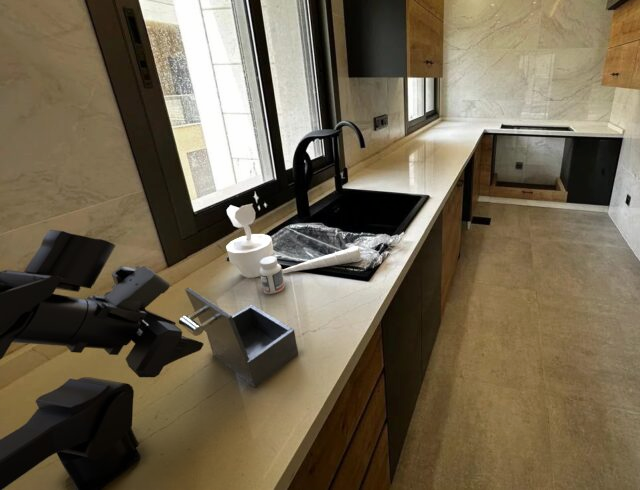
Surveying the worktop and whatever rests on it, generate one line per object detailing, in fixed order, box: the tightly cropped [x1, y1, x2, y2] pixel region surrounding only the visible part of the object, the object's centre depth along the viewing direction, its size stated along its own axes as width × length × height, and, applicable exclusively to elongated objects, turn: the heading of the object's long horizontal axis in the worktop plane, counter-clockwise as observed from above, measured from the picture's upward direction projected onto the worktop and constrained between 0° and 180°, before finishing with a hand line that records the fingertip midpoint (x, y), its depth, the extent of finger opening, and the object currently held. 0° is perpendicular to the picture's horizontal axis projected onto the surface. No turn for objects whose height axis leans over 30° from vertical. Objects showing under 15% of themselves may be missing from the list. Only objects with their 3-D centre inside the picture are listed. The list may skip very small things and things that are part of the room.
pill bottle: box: [259, 255, 285, 295], centre depth 87 cm, size 5×5×9 cm
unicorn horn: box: [282, 245, 362, 273], centre depth 98 cm, size 5×24×5 cm, turn 106°
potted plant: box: [226, 192, 275, 279], centre depth 91 cm, size 13×12×25 cm
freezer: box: [205, 304, 299, 389], centre depth 66 cm, size 10×15×6 cm, turn 58°
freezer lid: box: [178, 287, 249, 362], centre depth 57 cm, size 10×15×4 cm
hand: (187, 335), depth 55 cm, fingers open, 9 cm apart
